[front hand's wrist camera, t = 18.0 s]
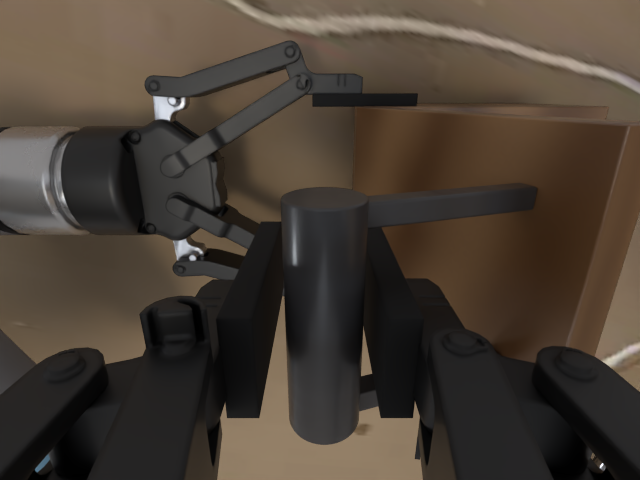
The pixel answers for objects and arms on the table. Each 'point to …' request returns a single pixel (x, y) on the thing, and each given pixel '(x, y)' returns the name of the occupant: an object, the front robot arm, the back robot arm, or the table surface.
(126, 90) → the table surface
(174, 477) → the front robot arm
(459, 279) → the lid
